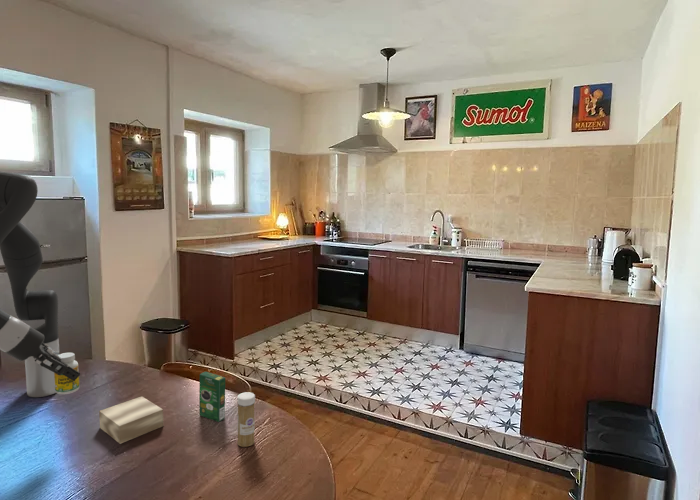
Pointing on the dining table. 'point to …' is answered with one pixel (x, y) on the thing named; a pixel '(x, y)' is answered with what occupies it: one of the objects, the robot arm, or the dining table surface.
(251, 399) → the sprinkles bottle
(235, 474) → the dining table surface
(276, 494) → the dining table surface
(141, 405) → the pale wooden block
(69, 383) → the supplement bottle
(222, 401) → the coffee box
